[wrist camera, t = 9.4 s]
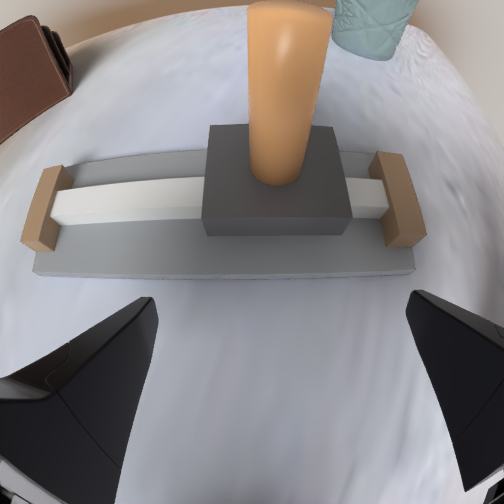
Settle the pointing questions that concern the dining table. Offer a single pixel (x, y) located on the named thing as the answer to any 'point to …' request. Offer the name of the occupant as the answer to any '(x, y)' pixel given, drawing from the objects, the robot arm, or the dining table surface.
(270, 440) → the dining table surface
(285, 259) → the rail
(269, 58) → the carriage
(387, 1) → the green planter pot
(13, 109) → the letter holder
